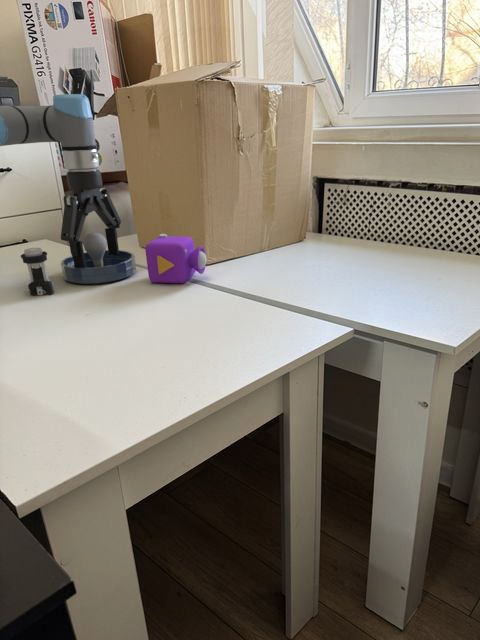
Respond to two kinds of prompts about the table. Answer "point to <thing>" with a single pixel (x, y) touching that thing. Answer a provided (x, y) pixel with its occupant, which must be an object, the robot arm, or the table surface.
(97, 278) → the bowl
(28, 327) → the table surface
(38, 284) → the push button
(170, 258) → the toy camera
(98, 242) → the light bulb
